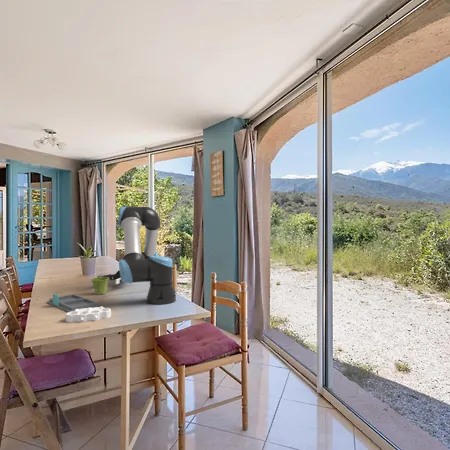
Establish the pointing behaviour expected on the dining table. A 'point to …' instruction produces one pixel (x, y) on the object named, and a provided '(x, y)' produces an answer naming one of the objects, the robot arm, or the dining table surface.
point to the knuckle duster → (88, 314)
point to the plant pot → (100, 285)
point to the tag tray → (71, 302)
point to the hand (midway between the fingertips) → (105, 281)
